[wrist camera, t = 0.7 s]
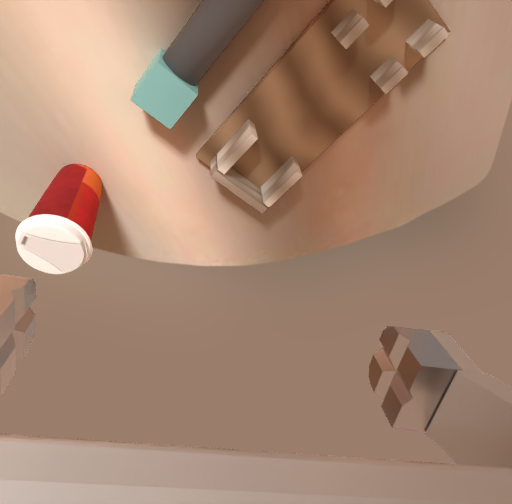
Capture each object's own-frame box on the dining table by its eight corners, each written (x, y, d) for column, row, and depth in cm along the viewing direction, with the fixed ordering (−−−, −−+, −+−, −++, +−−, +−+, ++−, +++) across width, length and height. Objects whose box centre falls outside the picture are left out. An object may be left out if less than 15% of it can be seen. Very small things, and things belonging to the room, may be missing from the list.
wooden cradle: (384, -61, 42) (402, -56, 38) (446, 28, 48) (467, 40, 44) (196, 153, 54) (196, 173, 51) (263, 202, 60) (268, 223, 57)
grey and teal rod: (313, -162, 37) (325, -169, 33) (349, -110, 39) (365, -111, 35) (136, 84, 48) (130, 100, 44) (172, 111, 51) (170, 129, 47)
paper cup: (40, 190, 56) (2, 261, 45) (60, 145, 52) (24, 210, 41) (98, 216, 59) (75, 286, 49) (121, 174, 55) (101, 241, 45)
